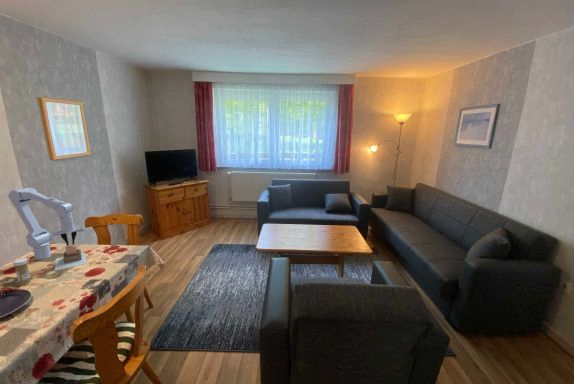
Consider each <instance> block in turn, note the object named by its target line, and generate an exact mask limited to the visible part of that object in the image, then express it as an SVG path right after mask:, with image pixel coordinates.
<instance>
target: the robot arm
mask: <svg viewBox="0 0 574 384" xmlns="http://www.w3.org/2000/svg"><path fill="white" fill-rule="evenodd" d="M7 198H9V200H10V202H11V203H12V205H13V207H14V208H15V210H16V212H17V215H18V216H19V217H20V219H21V220H22V222H23V224H24V226H25V228H26V230H27V232H28V233H27V234H26V235H25V239H26V243H27V245H28V246H29V247H31V248H32V250H33V251H32V252H33V255H34V260H36V261H40V260H46V259H49V258H51V256H52V252H51V247H50V243H51V240H53V238H52V237H56V236H60V238H61V239H62V240H63V241H64V242H65V244H66V246H69V245H70V244H69V240H68V235H69V234H70V235H71V241H72V243H71V245H72V244H73V245H74V244H75V240H76V237H77V234H78V233H81V232H85V227H84V226H83V227H75V224H74V217H73V213H72V212H73V211H74V210H75V207H74V205H73V204H72V203H71V202H69V201H68V202H67V201H66V202H65V201H61V200H59V199H57V198H56V197H53V196H52V197H48V196H46V195H44V194H42V193H40V192H38V191H37V189H35V188H34V187H31V186H28V187H25V188H20V189H19V188H18V189H13V190H10V191H9V193H8V195H7ZM32 200H34V201H38V202H40V203H43V204H44V206H45V207H48V208H49V209H51V210H54V212H55V213H56V214H57V217H58V218H59V222H60V223H59V224H60V227H61V230H57V231H52V232H51V233H49V232H48V230H47V229H46V228H42V227H41V226H40V224H39V222H38V221H37V219H36V216H35V215H34V213H33V211H32V210H31V208H30V206H29V203H30V202H31V201H32Z"/></svg>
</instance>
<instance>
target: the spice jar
mask: <svg viewBox="0 0 574 384" xmlns="http://www.w3.org/2000/svg"><path fill="white" fill-rule="evenodd" d="M27 259H28V258H19V259H15V260H14V261H13V266H14V269H15V274H16V279H17V282H18V287H26V286H28V285H30V283H31V275H30V271H29V268H28V267H29V266H28V260H27Z"/></svg>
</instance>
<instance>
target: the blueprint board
mask: <svg viewBox="0 0 574 384" xmlns="http://www.w3.org/2000/svg"><path fill="white" fill-rule="evenodd" d="M81 257H82V260H78V261H73V262H69V263H64V259H63V256H62V257H58V258H55V263H54V271H59V270H64V269H69V268H72V267H76V266H82V265H84V264H85V265H86V264H87V258H86V257H87V256H86V252H81Z"/></svg>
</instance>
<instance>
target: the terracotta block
mask: <svg viewBox="0 0 574 384" xmlns="http://www.w3.org/2000/svg"><path fill="white" fill-rule="evenodd" d="M77 249H78V248H77V244H76V243H74V245H73V244H72V243H71V244H69V246H67V245H66V246H65V250H66V251H65V252H66V253H67V255H71V254H76V253H77Z"/></svg>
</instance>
